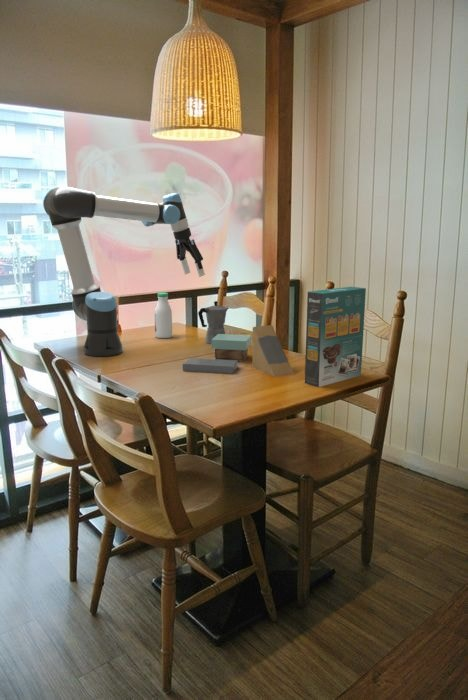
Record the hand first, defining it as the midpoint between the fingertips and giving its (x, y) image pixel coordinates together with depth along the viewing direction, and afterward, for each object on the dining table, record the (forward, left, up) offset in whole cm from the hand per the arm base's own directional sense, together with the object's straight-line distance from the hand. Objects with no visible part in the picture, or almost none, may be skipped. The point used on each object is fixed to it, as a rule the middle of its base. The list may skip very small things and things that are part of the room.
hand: (194, 274), depth 256 cm
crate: (+26, -41, -27) cm, 56 cm away
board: (+22, -59, -27) cm, 69 cm away
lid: (+26, -41, -23) cm, 54 cm away
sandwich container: (+44, -57, -28) cm, 77 cm away
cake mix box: (+65, -63, -28) cm, 95 cm away
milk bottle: (-12, -9, -28) cm, 32 cm away
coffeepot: (+13, -16, -28) cm, 35 cm away
